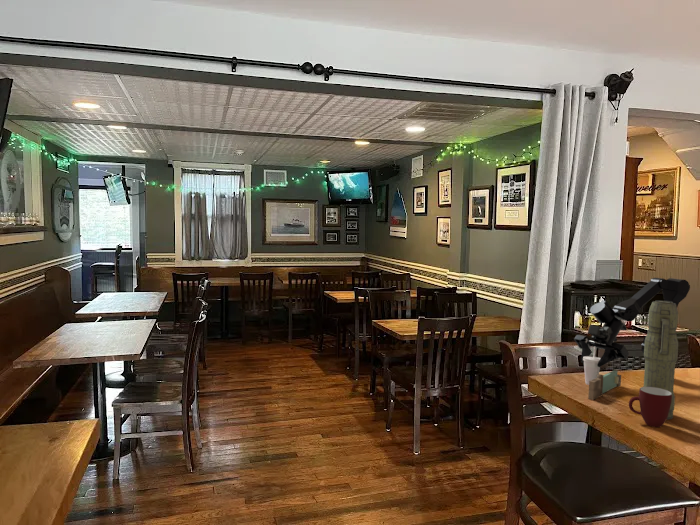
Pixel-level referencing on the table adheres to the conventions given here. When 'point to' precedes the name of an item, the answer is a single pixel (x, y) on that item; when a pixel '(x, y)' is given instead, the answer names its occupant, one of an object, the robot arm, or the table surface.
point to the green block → (610, 381)
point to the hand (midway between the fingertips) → (589, 364)
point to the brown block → (598, 386)
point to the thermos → (661, 348)
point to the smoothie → (591, 367)
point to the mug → (653, 405)
